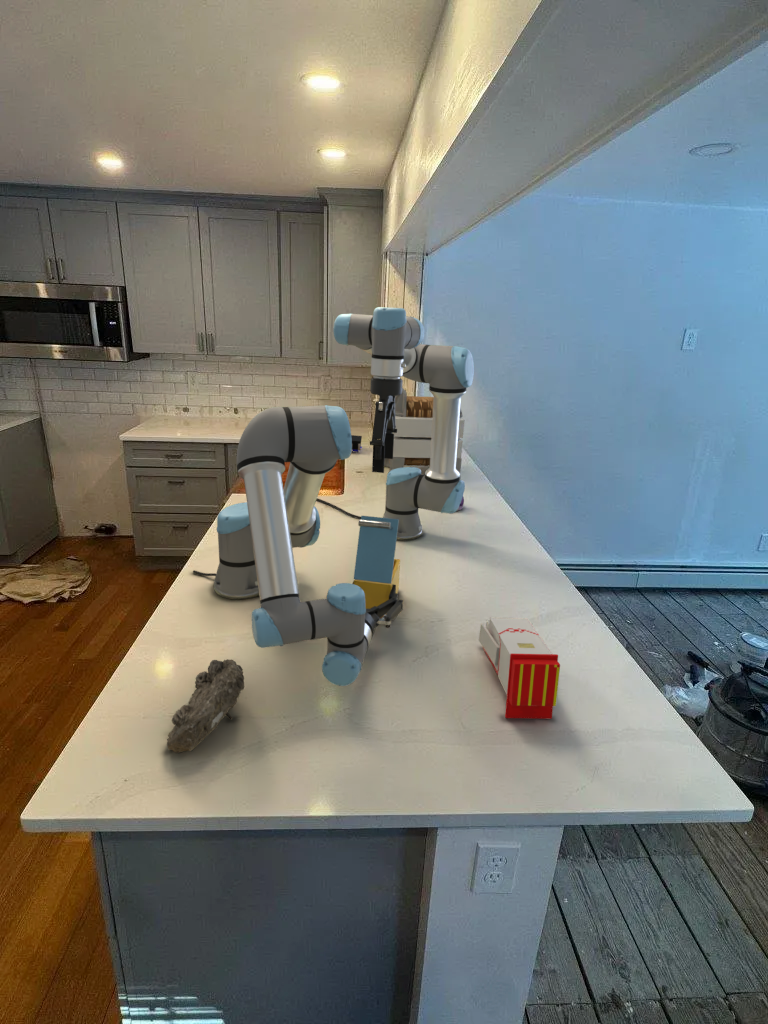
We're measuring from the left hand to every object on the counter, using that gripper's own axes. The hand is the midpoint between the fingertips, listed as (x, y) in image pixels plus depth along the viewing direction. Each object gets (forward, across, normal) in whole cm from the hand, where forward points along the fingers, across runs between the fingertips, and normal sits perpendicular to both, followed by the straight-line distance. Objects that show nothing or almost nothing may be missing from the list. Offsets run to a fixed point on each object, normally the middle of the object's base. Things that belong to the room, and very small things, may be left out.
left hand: (374, 587), depth 146 cm
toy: (-21, +35, -7) cm, 41 cm away
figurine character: (+168, -43, -7) cm, 174 cm away
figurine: (+88, +16, -7) cm, 90 cm away
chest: (+4, 0, -7) cm, 8 cm away
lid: (0, 0, +11) cm, 11 cm away
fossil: (-47, -22, -7) cm, 53 cm away
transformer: (+135, -3, -7) cm, 136 cm away
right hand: (+5, 0, +31) cm, 32 cm away
